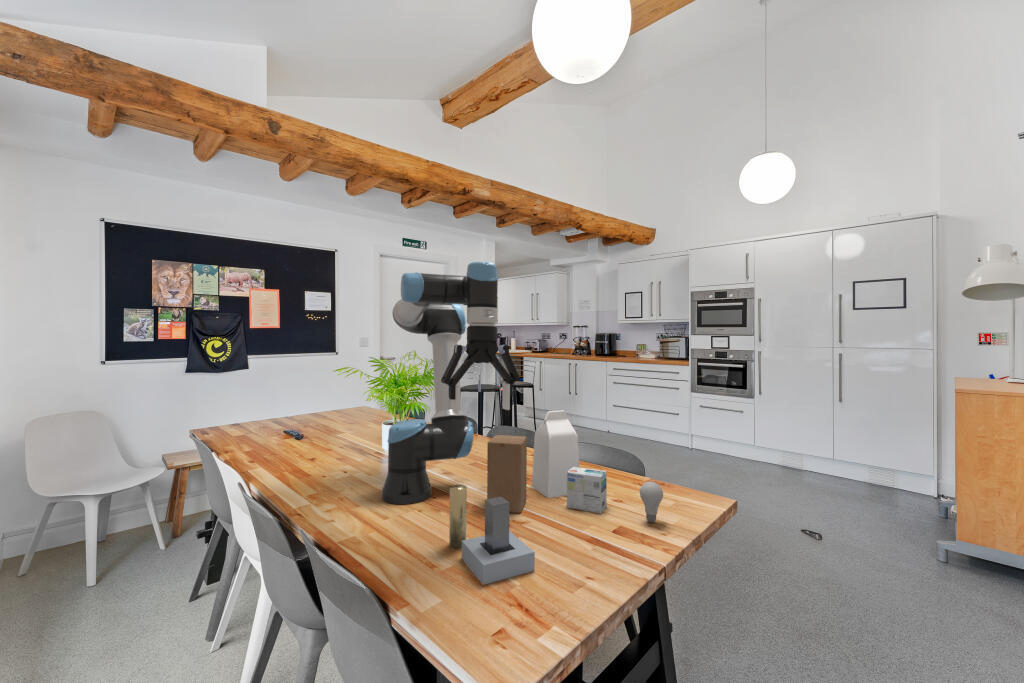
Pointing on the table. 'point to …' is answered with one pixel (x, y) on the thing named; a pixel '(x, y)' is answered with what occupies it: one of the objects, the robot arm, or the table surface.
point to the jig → (497, 559)
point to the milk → (554, 454)
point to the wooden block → (507, 470)
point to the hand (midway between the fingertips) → (481, 411)
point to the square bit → (496, 525)
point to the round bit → (457, 516)
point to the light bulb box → (586, 489)
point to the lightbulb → (651, 499)
